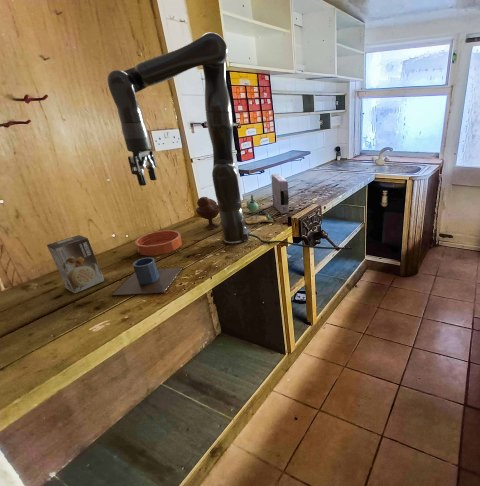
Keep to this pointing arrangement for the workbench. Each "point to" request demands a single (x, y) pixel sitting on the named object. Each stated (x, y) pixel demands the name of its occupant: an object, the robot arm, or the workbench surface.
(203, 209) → the ice cream bowl
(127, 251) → the workbench surface
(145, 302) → the workbench surface
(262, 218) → the frog figurine
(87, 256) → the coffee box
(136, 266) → the blue cup
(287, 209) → the cake pan box
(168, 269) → the walnut mat
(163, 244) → the terracotta bowl
